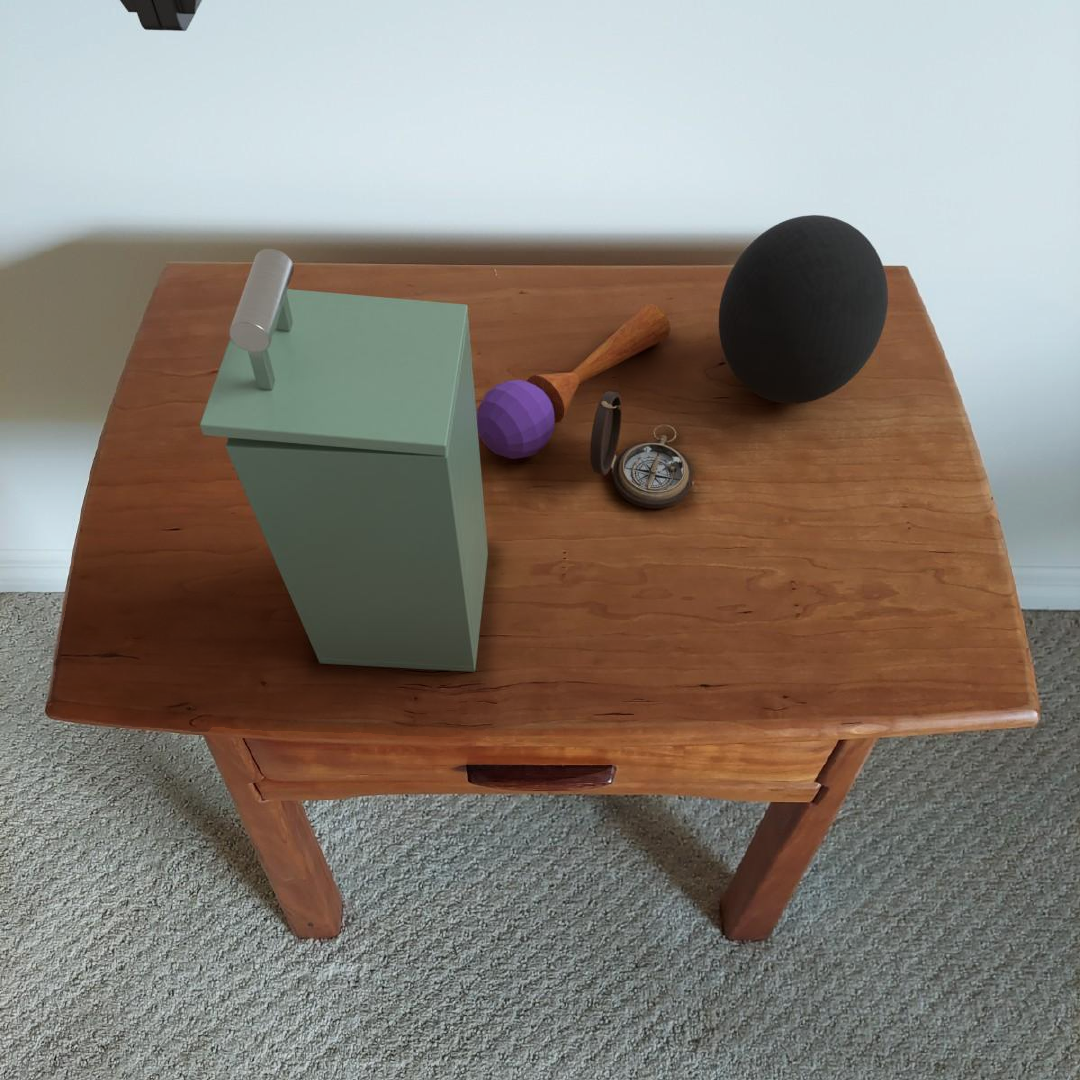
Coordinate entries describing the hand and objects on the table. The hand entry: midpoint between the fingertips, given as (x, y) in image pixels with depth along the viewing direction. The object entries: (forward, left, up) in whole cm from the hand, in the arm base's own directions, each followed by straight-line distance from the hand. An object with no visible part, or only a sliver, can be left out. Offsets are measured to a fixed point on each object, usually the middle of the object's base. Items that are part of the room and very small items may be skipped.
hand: (173, 19), depth 34 cm
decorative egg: (+38, -8, -39) cm, 55 cm away
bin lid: (+1, -4, -16) cm, 16 cm away
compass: (+23, -7, -39) cm, 46 cm away
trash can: (+1, -5, -39) cm, 39 cm away
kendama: (+24, +2, -39) cm, 46 cm away
